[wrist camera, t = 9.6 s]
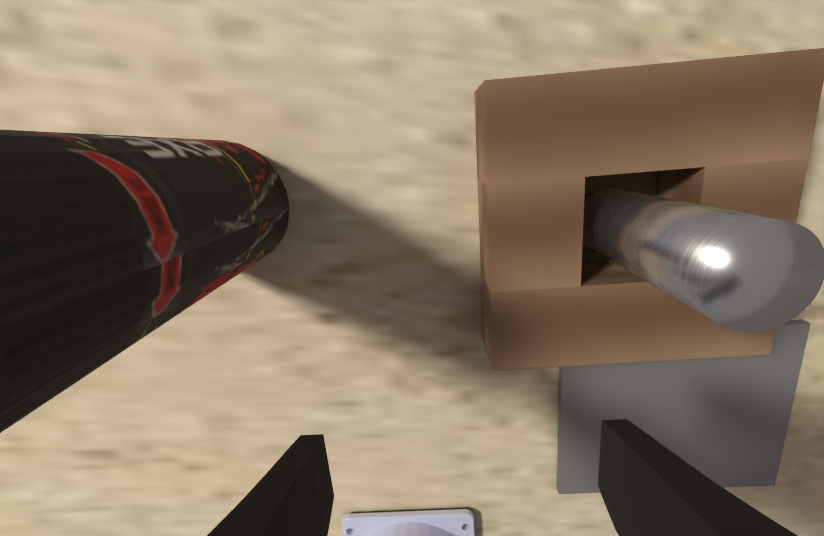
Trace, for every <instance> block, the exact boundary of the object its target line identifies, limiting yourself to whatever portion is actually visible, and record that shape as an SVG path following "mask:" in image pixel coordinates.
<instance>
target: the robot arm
mask: <svg viewBox="0 0 824 536" xmlns="http://www.w3.org/2000/svg"><path fill="white" fill-rule="evenodd" d="M598 487H599V489H600V492H601V495H602V497H603V500H604V502H605V505H606V508H607V510H608V512H609V515H610V517H611V520H612V522H613V525H614V527H615V529H616V531H617V533H618V535H619V536H797V535H796V534H794V533H792V532H791V531H789V530H787V529H786V528H784V527H783V526H781V525H779V524H778V523H776V522H774V521H773V520H771V519H770V518H768V517H767V516H765V515H763V514H762V513H760V512H759V511H757V510H756V509H754V508H753V507H751V506H750V505H748V504H746V503H745V502H743V501H742V500H740V499H739V498H737V497H736V496H734V495H733V494H731V493H730V492H728V491H727V490H725V489H724V488H722V487H721V486H719V485H718V484H717V483H715V482H714V481H712V480H711V479H709V478H708V477H706V476H705V475H704V474H702V473H701V472H699V471H698V470H697V469H695V468H694V467H692V466H691V465H690V464H688V463H687V462H685V461H684V460H683V459H681V458H680V457H678V456H677V455H676V454H674V453H673V452H672V451H670V450H669V449H668V448H666V447H665V446H663V445H662V444H661V443H659V442H658V441H657V440H655V439H654V438H652V437H651V436H650V435H648V434H647V433H646V432H644V431H643V430H642V429H640V428H639V427H637V426H636V425H635V424H633V423H632V422H630V421H629V420H627V419H616V420H602V426H601V442H600V458H599V474H598ZM333 499H334V493H333V487H332V482H331V476H330V470H329V465H328V459H327V453H326V448H325V442H324V436H323V434H320V435H301V436H300V437H299V438H298V439H297V440H296V441H295V442H294V443H293V444H292V445H291V447H290V448H289V449H288V450H287V451H286V452H285V453H284V454H283V456H282V457H281V458H280V459H279V460H278V461H277V462H276V463H275V465H274V466H273V467H272V468H271V469H270V470H269V471H268V472H267V474H266V475H265V476H264V477H263V478H262V479H261V480H260V481H259V482H258V483H257V485H256V486H255V487H254V488H253V489H252V490H251V491H250V492H249V493H248V494H247V495H246V496H245V498H244V499H243V500H242V501H241V502H240V503H239V504H238V505H237V506H236V507H235V508H234V509H233V510H232V511H231V512H230V513H229V514H228V515H227V516H226V517H225V518H224V519H223V520H222V521H221V522H220V523H219V524H218V525H217V526H216V527H215V528H214V529H213V530H212V531H211V532H210V533H209V534H208V535H207V536H327V534H328V529H329V523H330V518H331V512H332V505H333ZM464 524H466V525H464ZM341 526H342V532H343V536H475V531H474V516H473V513H472V512H471V511H470V510H468V509H453V510H428V511H403V512H378V513H353V514H346V515H344V516H343V518H342V522H341ZM350 528H351V529H350Z"/></svg>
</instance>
